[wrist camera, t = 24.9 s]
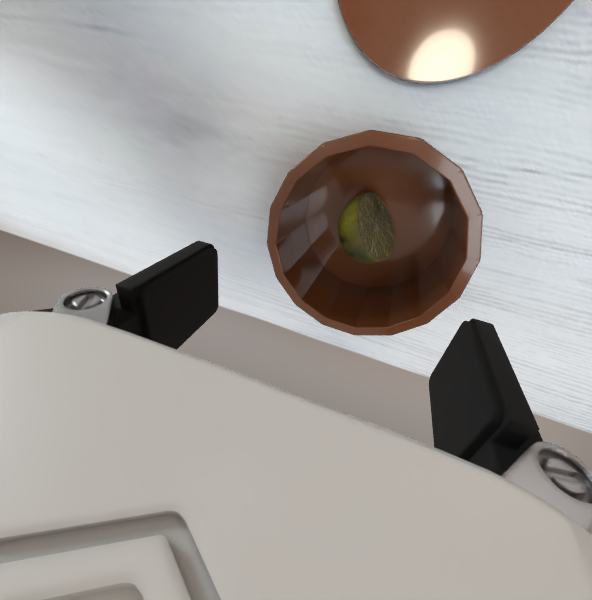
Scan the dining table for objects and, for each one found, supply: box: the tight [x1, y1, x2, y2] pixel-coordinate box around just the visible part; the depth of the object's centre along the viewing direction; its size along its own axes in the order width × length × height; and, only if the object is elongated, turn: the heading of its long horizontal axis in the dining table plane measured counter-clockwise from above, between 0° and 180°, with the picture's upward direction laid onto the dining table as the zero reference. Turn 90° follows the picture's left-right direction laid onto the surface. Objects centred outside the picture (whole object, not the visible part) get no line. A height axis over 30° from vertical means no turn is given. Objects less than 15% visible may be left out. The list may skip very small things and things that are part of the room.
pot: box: [267, 130, 483, 335], centre depth 20 cm, size 13×13×7 cm
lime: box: [338, 192, 396, 263], centre depth 21 cm, size 4×5×5 cm
